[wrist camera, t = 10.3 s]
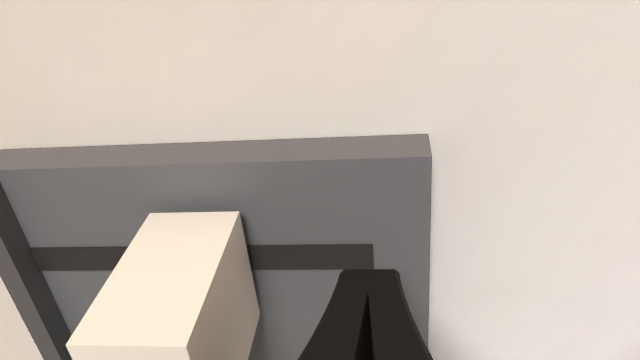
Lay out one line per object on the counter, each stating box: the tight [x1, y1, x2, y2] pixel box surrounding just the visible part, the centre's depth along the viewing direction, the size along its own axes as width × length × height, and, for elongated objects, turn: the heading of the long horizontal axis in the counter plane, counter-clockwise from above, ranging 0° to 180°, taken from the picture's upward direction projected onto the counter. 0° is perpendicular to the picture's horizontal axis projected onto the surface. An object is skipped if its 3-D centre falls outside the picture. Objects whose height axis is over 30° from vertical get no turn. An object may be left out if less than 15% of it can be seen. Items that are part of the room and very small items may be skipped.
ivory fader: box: [66, 211, 260, 360], centre depth 13 cm, size 4×2×4 cm, turn 5°
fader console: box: [0, 134, 432, 360], centre depth 17 cm, size 14×12×2 cm
